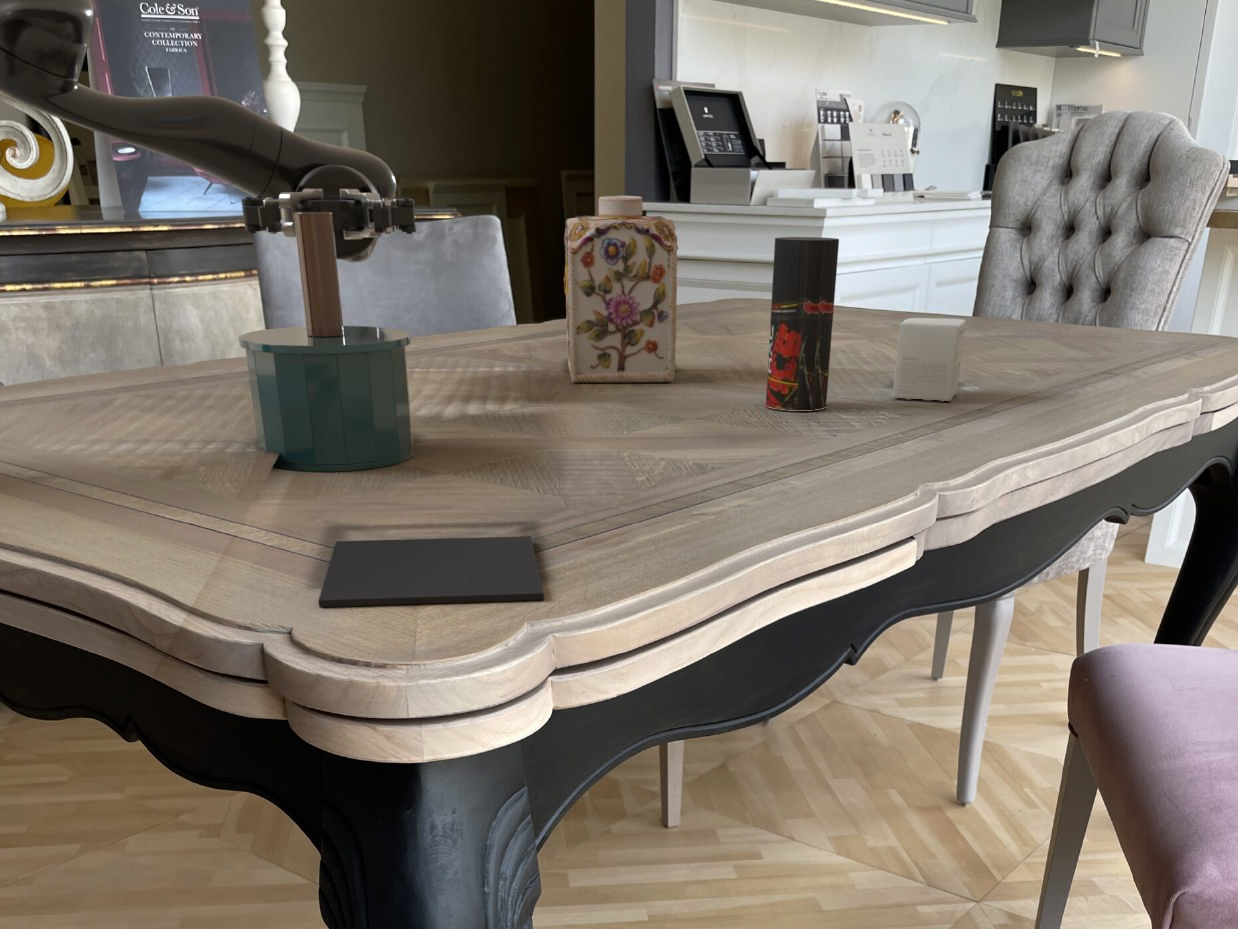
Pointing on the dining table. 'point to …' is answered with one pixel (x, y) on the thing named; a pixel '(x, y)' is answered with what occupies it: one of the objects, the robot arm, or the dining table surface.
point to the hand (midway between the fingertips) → (324, 218)
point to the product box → (928, 358)
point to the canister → (332, 409)
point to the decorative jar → (621, 294)
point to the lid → (321, 303)
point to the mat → (431, 572)
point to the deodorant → (801, 322)
